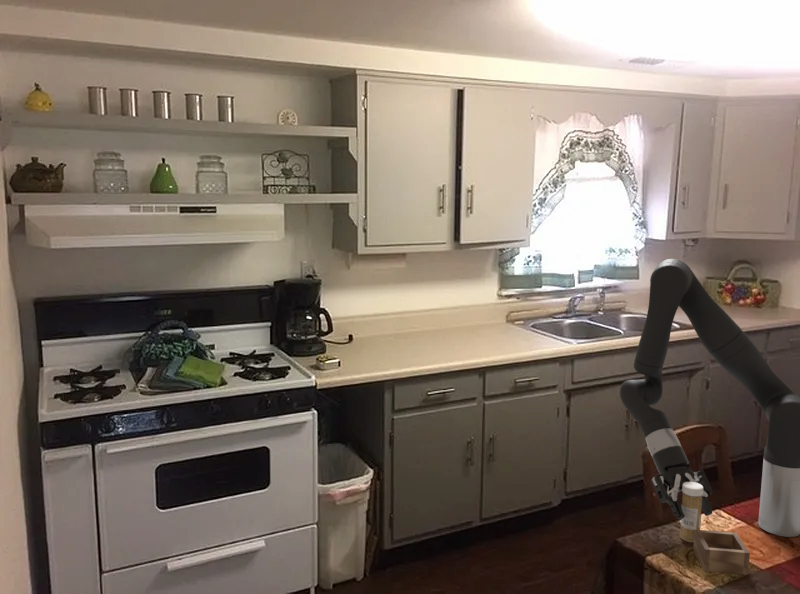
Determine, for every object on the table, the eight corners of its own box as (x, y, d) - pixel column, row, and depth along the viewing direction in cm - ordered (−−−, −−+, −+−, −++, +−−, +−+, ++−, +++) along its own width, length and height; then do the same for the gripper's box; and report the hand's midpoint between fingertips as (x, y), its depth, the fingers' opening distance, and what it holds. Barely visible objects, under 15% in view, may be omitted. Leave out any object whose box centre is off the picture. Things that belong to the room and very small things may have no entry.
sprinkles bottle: (703, 539, 160) (707, 486, 158) (692, 545, 158) (696, 490, 156) (686, 532, 164) (690, 479, 162) (675, 537, 162) (678, 483, 160)
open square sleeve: (734, 553, 154) (736, 532, 153) (748, 574, 145) (749, 553, 145) (693, 549, 156) (694, 529, 155) (703, 570, 147) (705, 549, 146)
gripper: (648, 447, 163) (677, 514, 154) (699, 441, 167) (730, 507, 158) (634, 460, 169) (661, 526, 160) (683, 454, 173) (712, 518, 163)
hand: (695, 516), depth 159 cm, fingers open, 7 cm apart
